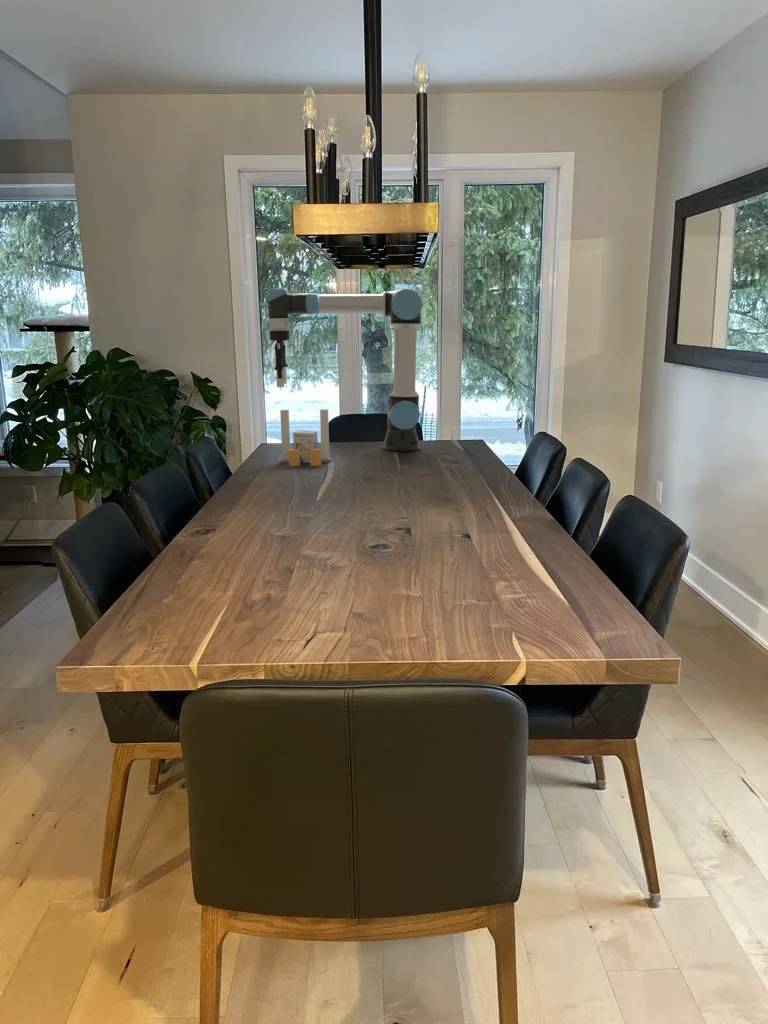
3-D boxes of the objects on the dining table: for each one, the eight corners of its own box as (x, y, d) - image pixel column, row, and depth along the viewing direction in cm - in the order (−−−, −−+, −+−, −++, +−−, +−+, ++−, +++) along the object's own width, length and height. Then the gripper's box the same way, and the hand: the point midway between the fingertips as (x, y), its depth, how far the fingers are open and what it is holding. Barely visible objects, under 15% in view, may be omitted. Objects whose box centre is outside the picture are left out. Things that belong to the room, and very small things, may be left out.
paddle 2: (321, 464, 291) (320, 448, 290) (320, 465, 288) (320, 449, 287) (310, 464, 291) (310, 448, 289) (310, 465, 288) (309, 450, 287)
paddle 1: (300, 464, 291) (299, 448, 289) (299, 466, 288) (299, 450, 286) (289, 464, 291) (288, 449, 289) (288, 466, 288) (288, 450, 286)
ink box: (293, 462, 295) (292, 431, 292) (298, 459, 300) (297, 429, 297) (313, 463, 293) (312, 432, 290) (318, 461, 297) (317, 430, 294)
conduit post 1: (292, 460, 298) (290, 409, 293) (291, 462, 294) (290, 410, 289) (281, 460, 298) (279, 409, 293) (280, 463, 294) (278, 410, 289)
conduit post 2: (331, 460, 299) (330, 408, 294) (331, 462, 295) (329, 410, 289) (319, 460, 299) (318, 409, 294) (319, 462, 294) (318, 410, 289)
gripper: (272, 329, 307) (275, 382, 313) (266, 330, 283) (269, 388, 289) (291, 329, 308) (293, 382, 313) (286, 330, 284) (289, 388, 289)
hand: (282, 385), depth 301 cm, fingers open, 13 cm apart
